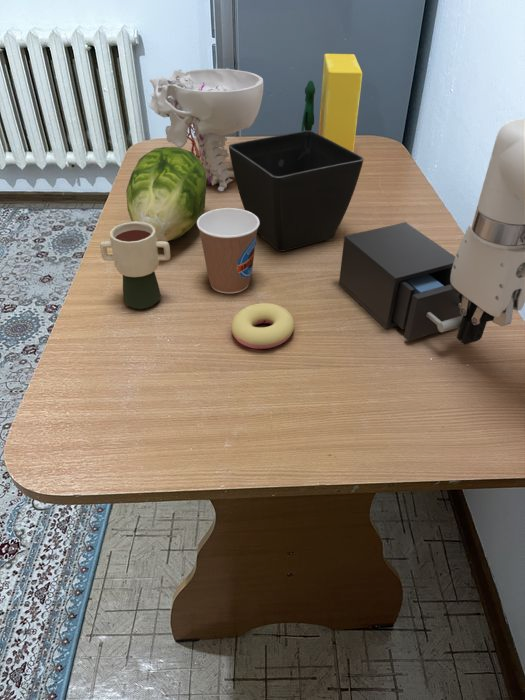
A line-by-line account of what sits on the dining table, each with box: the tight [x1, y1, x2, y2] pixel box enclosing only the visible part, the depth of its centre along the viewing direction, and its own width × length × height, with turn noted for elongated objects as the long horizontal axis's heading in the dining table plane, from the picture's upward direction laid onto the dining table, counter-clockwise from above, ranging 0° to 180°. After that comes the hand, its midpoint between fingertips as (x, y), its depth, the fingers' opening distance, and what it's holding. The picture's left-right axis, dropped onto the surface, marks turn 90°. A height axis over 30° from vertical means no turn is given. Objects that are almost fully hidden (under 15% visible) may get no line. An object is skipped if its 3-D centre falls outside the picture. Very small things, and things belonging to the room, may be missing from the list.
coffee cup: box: [196, 207, 260, 295], centre depth 96 cm, size 10×10×12 cm
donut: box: [231, 302, 295, 350], centre depth 88 cm, size 10×5×9 cm
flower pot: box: [228, 130, 365, 252], centre depth 110 cm, size 19×19×17 cm
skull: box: [149, 68, 264, 192], centre depth 127 cm, size 25×19×23 cm
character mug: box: [99, 221, 171, 309], centre depth 92 cm, size 11×7×13 cm, turn 92°
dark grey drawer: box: [392, 268, 463, 342], centre depth 89 cm, size 18×11×8 cm, turn 25°
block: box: [404, 274, 444, 294], centre depth 90 cm, size 4×4×5 cm
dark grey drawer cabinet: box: [338, 222, 456, 330], centre depth 95 cm, size 15×13×10 cm
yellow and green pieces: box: [300, 53, 363, 152], centre depth 136 cm, size 18×12×24 cm
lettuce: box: [125, 146, 208, 242], centre depth 110 cm, size 15×27×16 cm, turn 177°
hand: (468, 339), depth 83 cm, fingers closed
